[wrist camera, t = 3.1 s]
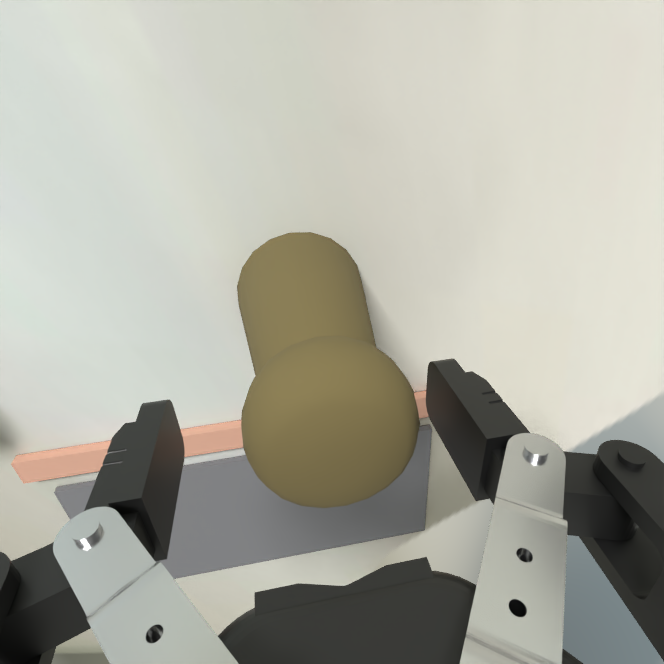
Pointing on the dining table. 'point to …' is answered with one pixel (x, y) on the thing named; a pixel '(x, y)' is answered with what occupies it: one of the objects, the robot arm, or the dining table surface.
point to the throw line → (93, 454)
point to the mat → (272, 515)
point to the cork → (319, 378)
